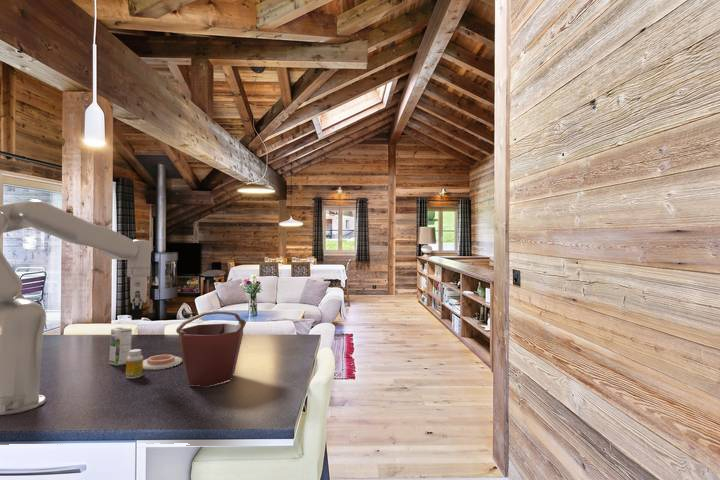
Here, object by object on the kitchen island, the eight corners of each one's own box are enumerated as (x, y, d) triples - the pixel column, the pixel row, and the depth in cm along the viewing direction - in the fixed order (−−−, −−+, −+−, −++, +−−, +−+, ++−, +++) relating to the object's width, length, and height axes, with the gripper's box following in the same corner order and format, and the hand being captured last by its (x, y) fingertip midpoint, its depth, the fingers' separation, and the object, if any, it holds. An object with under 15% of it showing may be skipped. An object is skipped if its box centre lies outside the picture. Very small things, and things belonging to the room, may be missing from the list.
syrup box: (108, 363, 151) (109, 328, 152) (123, 360, 156) (124, 326, 157) (116, 366, 149) (117, 330, 149) (130, 362, 154) (132, 327, 154)
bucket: (243, 367, 150) (245, 306, 151) (247, 386, 130) (249, 315, 130) (177, 373, 141) (180, 308, 142) (170, 394, 121) (173, 318, 122)
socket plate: (183, 366, 150) (183, 360, 150) (137, 372, 142) (137, 365, 142) (180, 356, 164) (181, 351, 164) (139, 361, 156) (139, 355, 156)
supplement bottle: (134, 379, 134) (135, 352, 134) (121, 378, 135) (123, 351, 135) (145, 374, 139) (146, 349, 140) (133, 373, 140) (134, 348, 141)
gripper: (149, 273, 133) (148, 320, 132) (150, 271, 148) (148, 313, 147) (125, 273, 129) (123, 322, 129) (128, 271, 144) (126, 314, 144)
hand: (137, 317), depth 138 cm, fingers open, 9 cm apart
